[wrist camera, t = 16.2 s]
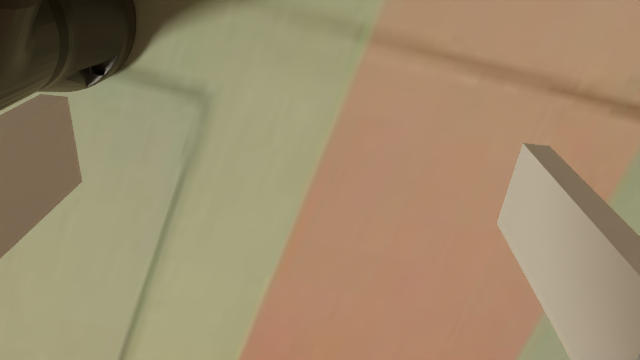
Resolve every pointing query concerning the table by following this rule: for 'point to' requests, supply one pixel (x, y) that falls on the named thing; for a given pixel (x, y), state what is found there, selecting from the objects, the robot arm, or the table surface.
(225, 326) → the table surface
